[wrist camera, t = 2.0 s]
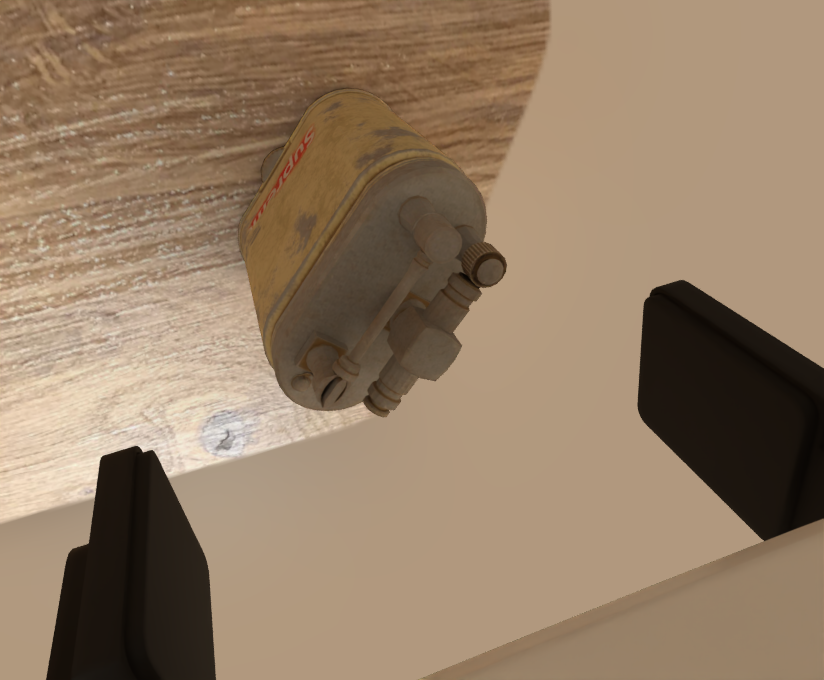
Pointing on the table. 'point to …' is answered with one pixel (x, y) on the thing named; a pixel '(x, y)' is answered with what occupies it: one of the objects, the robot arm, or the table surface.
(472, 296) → the lighter
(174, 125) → the table surface
